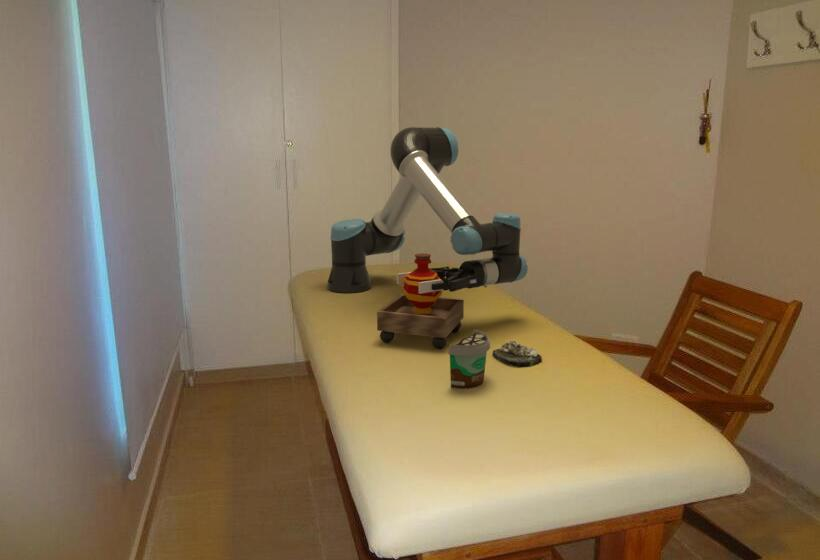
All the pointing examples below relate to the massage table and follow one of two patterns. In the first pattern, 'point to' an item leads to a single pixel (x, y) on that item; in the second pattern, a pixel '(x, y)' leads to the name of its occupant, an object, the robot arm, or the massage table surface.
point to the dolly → (420, 320)
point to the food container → (469, 361)
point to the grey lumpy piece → (517, 355)
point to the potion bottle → (412, 285)
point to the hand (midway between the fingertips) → (408, 283)
